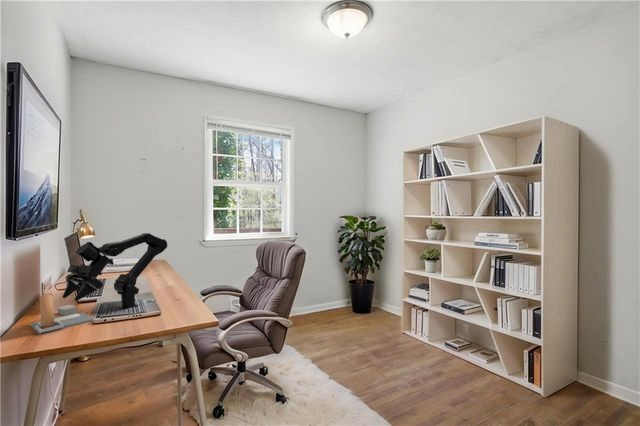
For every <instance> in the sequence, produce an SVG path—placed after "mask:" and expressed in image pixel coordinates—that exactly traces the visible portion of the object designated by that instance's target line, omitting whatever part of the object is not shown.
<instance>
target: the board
mask: <svg viewBox="0 0 640 426" xmlns="http://www.w3.org/2000/svg"><path fill="white" fill-rule="evenodd" d="M92 320H93V321H94V318H92V317H91V316H89V315H88V314H86V313H84V312H82V311H81V312H77V313H73V314H69V315H63V316H62V315H61V316H59V317H54V326H53V327H49V328H45V329H41V320H40V321H36V322H31V323H30V327H31V328H32V329H33V330H34V331H35V332H36V333H37V334H38V335H41V334H46V333H51V332H54V331H57V330H58V331H59V330H61V329H66V328H69V327H74V326H78V325H82V324H86V323H90V322H93V321H92Z"/></svg>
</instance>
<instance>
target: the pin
mask: <svg viewBox="0 0 640 426" xmlns="http://www.w3.org/2000/svg"><path fill="white" fill-rule="evenodd" d="M39 303H40V304H39V305H40V306H39V307H40V321H41V329H45V328H49V327H53V326H54V318H55V309H54V294H53V293H47V294H42V295H40V296H39Z"/></svg>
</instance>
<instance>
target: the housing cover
mask: <svg viewBox="0 0 640 426" xmlns="http://www.w3.org/2000/svg"><path fill="white" fill-rule="evenodd" d="M76 313H79V309H78V306H76V305H72V304H68V305H67V304H66V305H63V306H59V307H57V314H60V315H61V316H62V315H63V316H67V315H71V314H76Z"/></svg>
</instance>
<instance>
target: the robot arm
mask: <svg viewBox="0 0 640 426" xmlns="http://www.w3.org/2000/svg"><path fill="white" fill-rule="evenodd" d="M143 243H144V244H146V245H147V250H146V251H145V253H144V254H143V255H142V256H141V257H140V258H139V260H137V262H136V263H135V264H134V265H133V266H132V267H131V269H130V270H129V271H128V272H127V273H120V274H119V276H118V277H117V279H115V280H114V281H115V282H114V283H113V288H114V291H116V292H117V293H116V294H118V295H120V300H121V301H120V302H121V304H120V305H118V308H120V309H123V310H128V309H130V308H135V307H138V306H139V304H137V303H136V295H138V294H139V291H140V288H138V287H137V286H136V285H137V280H138V278H139V276H140V275H141V274H142V273H143V272H144V270H145V269H146V268H147V267H148V265H150V263H151V262H152V261H153V259H154V258H155V257H156V256H158V255H160V254H162V253H163V252H164V251H165V250H166V249H167V248H168V242H167V240H166V239H165V238H160V237H157V236H155V235H153V234H151V233H148V232H145V233H144V232H143V233H141V234H138V235H136V236H133V237H130V238H127V239H124V240H121V241H115V242H109V243H108V242H107V243H104V244H102V246H99V247H97V246H95V245H94V244H93V242H92V241H87V242H86V243H84V244H82V245H81V246H79V247H78V248H76V249H77V250H76V251H75V254H76V255H78V256H79V257H80V258H81V259H83V260H85V261H86V262H90V263H89V264H87V265H86V264H82V263H81V264H79V265H75V264H69V267H68V269H67V270H66V272H67V273H68V274H67V275H66V277H65V281H66V286H65V287H66V288H65V290H64V292H63V294H62V297H61V298H63V299H67V297H69V296H71V295H72V294H74V292H75V291H78V289H80V288H81V289H80V290H79V291H78V293H77V294H76V295H75V297H74V301H76V302H77V301H79V300H81V299H83V298H85V297H86V296H88V295H90V294H92V293H94V292H96V291H98V290H101V288H102V287H103V285H104V284H103V282H102V281H101V280H100V279H98V278H97V277H98V276H102V275H103V270H104V269H105V268H106V267H107V265H110V266H111V265H113V266H114V259H113V258H109V257H117V256H118V255H121V254H122V253H124V251H126V250H128V249H130V248H133V247H135V246H138V245H141V244H143ZM81 286H82V287H81Z"/></svg>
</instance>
